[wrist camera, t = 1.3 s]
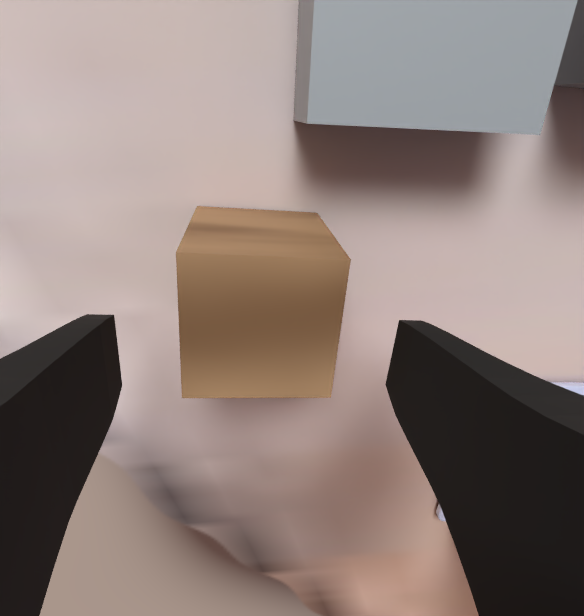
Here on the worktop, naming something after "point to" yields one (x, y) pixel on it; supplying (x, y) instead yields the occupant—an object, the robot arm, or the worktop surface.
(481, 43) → the slate base block
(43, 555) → the robot arm
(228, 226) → the walnut block
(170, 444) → the worktop surface
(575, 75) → the charcoal block
